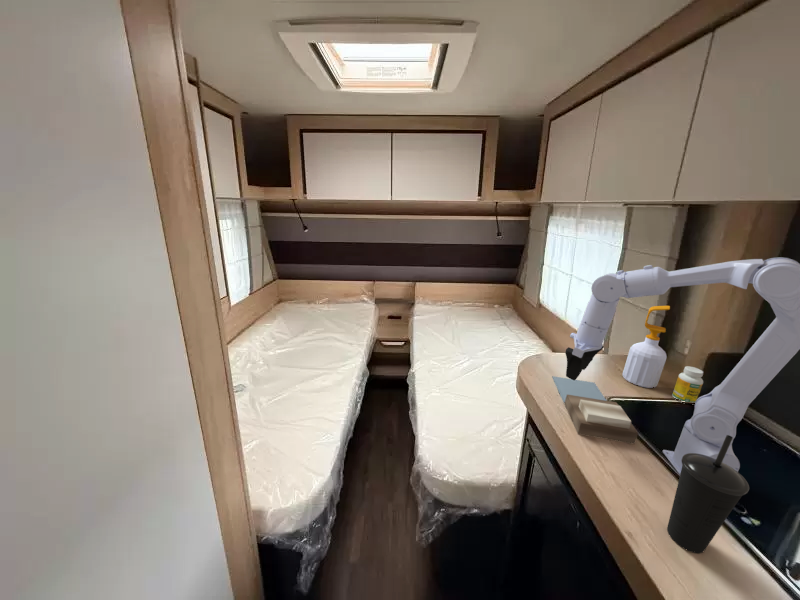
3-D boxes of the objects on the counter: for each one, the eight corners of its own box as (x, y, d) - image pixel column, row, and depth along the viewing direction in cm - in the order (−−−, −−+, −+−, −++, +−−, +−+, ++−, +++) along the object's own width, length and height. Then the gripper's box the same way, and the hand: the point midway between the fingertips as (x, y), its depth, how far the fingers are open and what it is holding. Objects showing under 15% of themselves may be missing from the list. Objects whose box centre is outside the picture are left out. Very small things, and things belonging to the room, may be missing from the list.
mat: (612, 411, 88) (612, 410, 88) (563, 403, 90) (564, 402, 90) (594, 383, 101) (594, 382, 101) (552, 376, 103) (552, 376, 103)
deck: (634, 444, 76) (638, 432, 75) (577, 433, 78) (580, 423, 77) (613, 412, 87) (616, 402, 87) (564, 404, 90) (566, 394, 89)
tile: (628, 428, 77) (631, 421, 76) (586, 421, 78) (588, 414, 77) (618, 412, 82) (620, 405, 82) (578, 406, 84) (580, 399, 83)
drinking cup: (691, 519, 58) (733, 422, 52) (729, 565, 51) (783, 459, 45) (646, 514, 59) (683, 417, 53) (677, 559, 52) (724, 453, 45)
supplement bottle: (682, 394, 99) (693, 364, 96) (700, 405, 94) (712, 374, 91) (666, 394, 98) (677, 364, 95) (683, 405, 93) (695, 374, 90)
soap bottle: (656, 392, 99) (683, 313, 91) (620, 380, 104) (643, 305, 96) (657, 380, 106) (682, 306, 98) (623, 370, 111) (644, 298, 103)
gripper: (586, 311, 86) (568, 356, 91) (567, 324, 76) (548, 374, 81) (616, 321, 82) (596, 369, 87) (601, 337, 71) (579, 389, 76)
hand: (575, 372), depth 83 cm, fingers open, 7 cm apart
